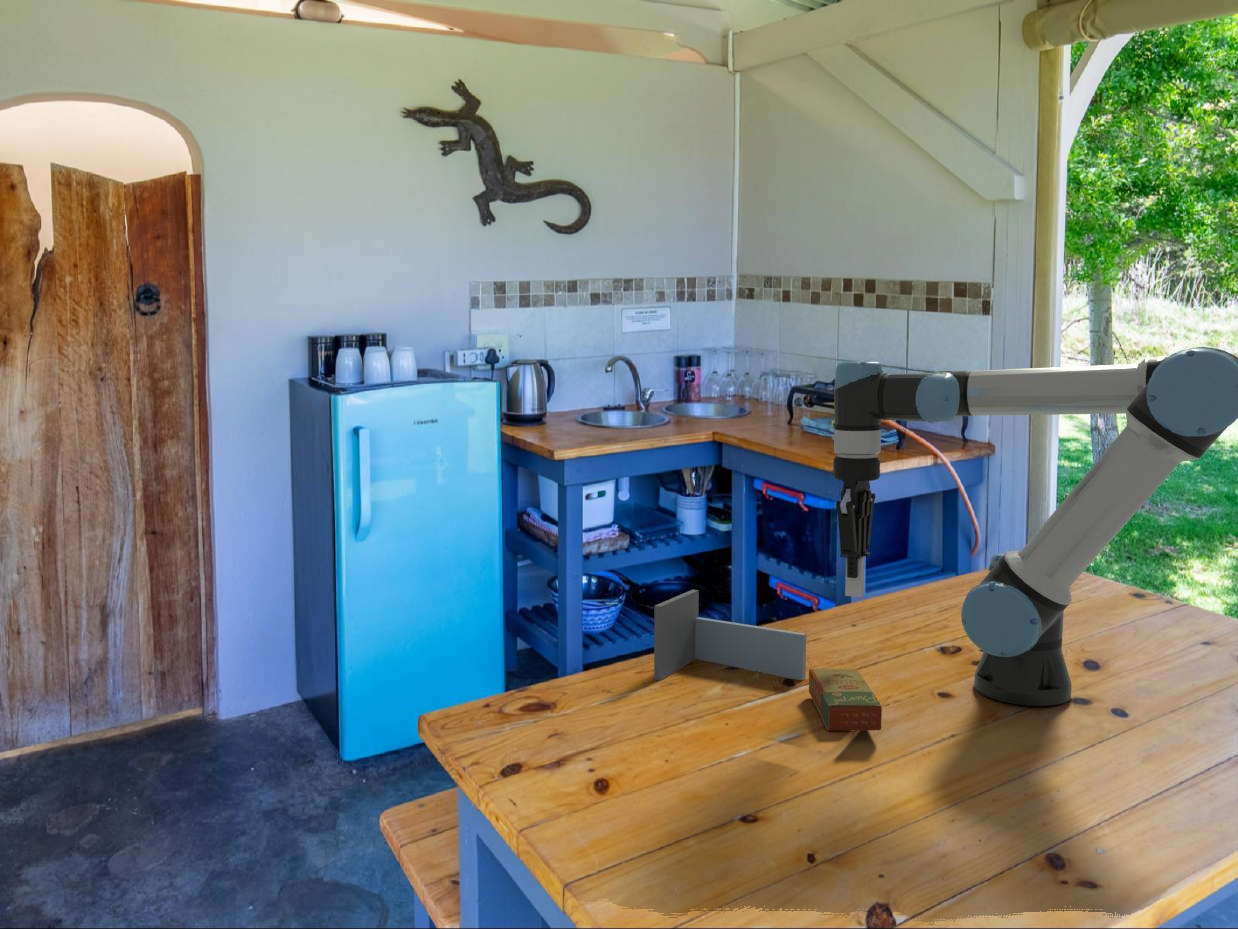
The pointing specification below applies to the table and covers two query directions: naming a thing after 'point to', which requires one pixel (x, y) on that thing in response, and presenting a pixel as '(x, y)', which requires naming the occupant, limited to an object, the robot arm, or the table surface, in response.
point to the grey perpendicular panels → (721, 642)
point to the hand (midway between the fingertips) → (854, 595)
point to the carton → (844, 700)
